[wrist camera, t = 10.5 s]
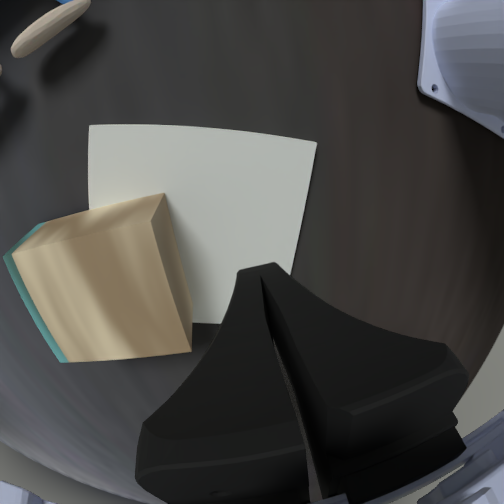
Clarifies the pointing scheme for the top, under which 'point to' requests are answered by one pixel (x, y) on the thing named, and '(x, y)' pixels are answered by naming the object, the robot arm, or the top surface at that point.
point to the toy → (48, 27)
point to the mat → (209, 196)
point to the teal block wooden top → (106, 282)
